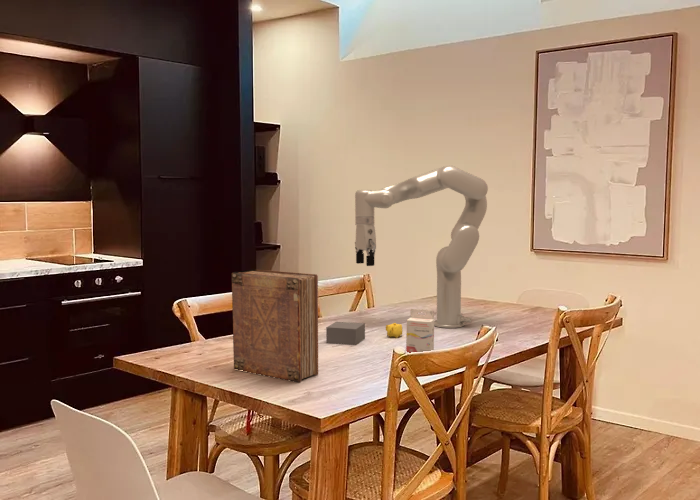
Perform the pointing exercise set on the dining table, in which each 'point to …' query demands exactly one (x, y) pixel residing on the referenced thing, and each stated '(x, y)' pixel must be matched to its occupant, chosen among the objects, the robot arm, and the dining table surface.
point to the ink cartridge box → (420, 331)
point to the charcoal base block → (345, 333)
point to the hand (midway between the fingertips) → (365, 264)
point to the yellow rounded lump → (394, 330)
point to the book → (275, 323)
